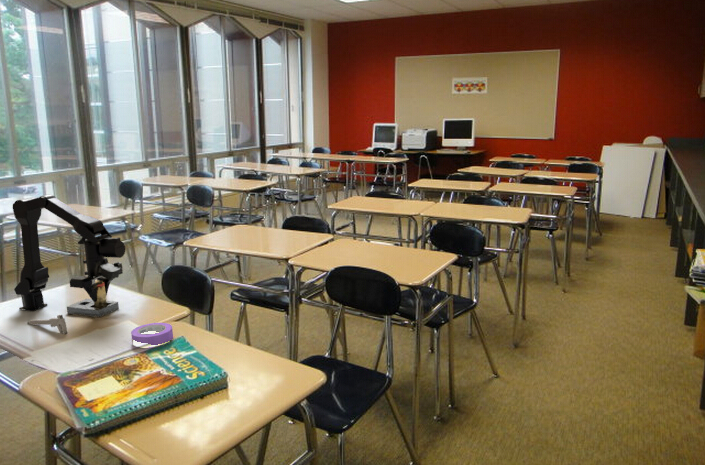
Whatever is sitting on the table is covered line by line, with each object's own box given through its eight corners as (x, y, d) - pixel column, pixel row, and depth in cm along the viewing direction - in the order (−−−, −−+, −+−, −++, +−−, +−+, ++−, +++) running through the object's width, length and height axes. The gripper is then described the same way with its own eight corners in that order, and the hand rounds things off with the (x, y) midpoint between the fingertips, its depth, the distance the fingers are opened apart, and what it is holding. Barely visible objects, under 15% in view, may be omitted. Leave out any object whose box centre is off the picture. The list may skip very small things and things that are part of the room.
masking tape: (138, 334, 167) (137, 323, 166) (176, 332, 168) (175, 321, 167) (127, 350, 155) (125, 338, 154) (168, 348, 156) (167, 335, 156)
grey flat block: (67, 313, 186) (66, 306, 185) (87, 304, 194) (86, 298, 193) (100, 317, 181) (99, 310, 181) (118, 308, 190) (118, 301, 189)
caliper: (67, 334, 168) (65, 315, 167) (64, 335, 167) (61, 316, 166) (30, 322, 178) (28, 305, 177) (27, 324, 177) (24, 306, 176)
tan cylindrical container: (92, 310, 185) (88, 283, 183) (100, 306, 189) (97, 279, 187) (101, 311, 184) (98, 284, 182) (110, 307, 188) (107, 280, 186)
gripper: (93, 265, 171) (98, 311, 175) (132, 251, 189) (137, 293, 192) (65, 262, 175) (71, 307, 178) (107, 249, 192) (112, 290, 195)
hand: (99, 299), depth 186 cm, fingers closed on tan cylindrical container, 4 cm apart
